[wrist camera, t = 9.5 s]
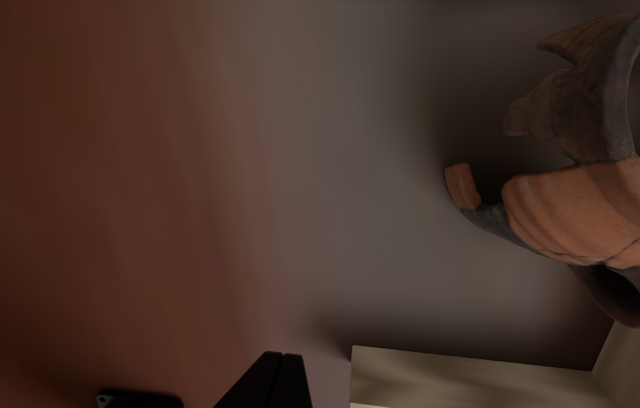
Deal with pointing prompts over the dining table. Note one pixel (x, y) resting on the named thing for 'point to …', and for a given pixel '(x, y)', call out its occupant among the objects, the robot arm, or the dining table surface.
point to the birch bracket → (495, 379)
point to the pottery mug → (576, 167)
